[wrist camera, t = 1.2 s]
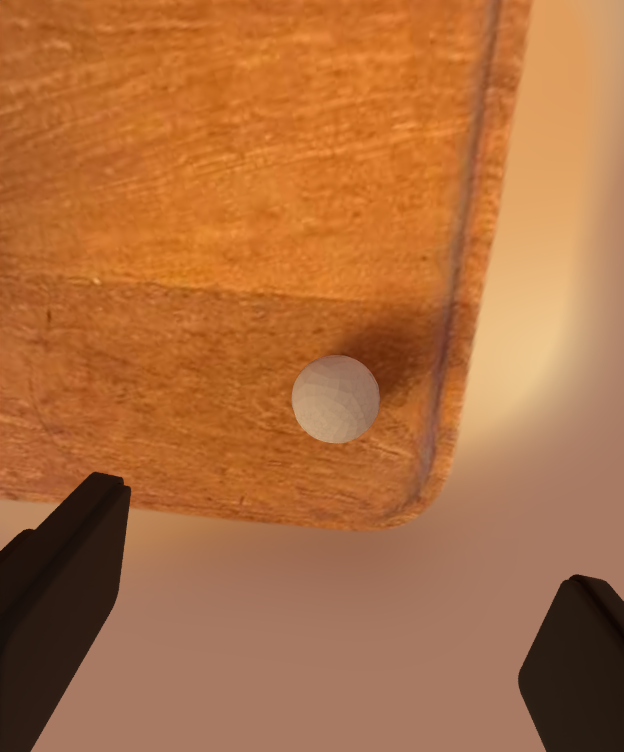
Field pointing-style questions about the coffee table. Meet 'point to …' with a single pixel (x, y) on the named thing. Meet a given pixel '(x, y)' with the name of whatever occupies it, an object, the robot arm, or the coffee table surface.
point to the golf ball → (335, 399)
